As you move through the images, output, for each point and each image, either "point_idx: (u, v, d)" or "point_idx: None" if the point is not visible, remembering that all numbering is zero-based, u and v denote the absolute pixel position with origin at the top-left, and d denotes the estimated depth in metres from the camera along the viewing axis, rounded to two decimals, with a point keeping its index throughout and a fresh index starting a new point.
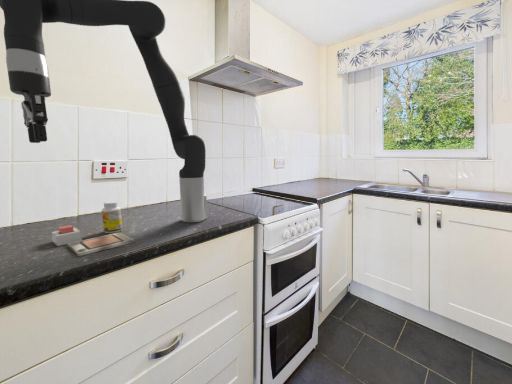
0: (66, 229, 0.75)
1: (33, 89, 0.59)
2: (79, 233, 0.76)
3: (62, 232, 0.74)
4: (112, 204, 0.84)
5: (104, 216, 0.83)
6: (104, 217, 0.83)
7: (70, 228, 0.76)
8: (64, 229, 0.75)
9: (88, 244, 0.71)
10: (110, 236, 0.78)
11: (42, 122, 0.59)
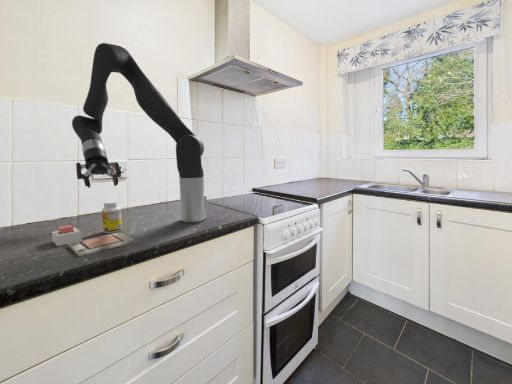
0: (66, 229, 0.75)
1: (85, 161, 0.95)
2: (79, 233, 0.76)
3: (62, 232, 0.74)
4: (112, 204, 0.84)
5: (104, 216, 0.83)
6: (104, 217, 0.83)
7: (70, 228, 0.76)
8: (64, 229, 0.75)
9: (88, 244, 0.71)
10: (110, 236, 0.78)
11: (80, 176, 0.90)
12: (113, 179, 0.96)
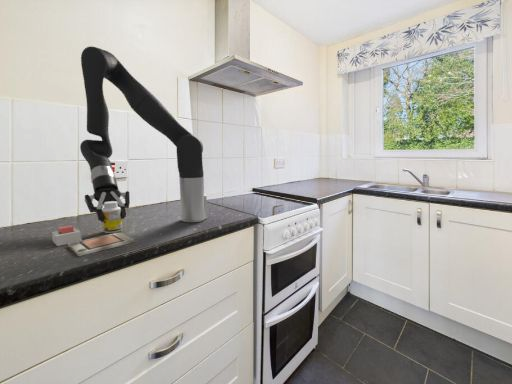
0: (66, 229, 0.75)
1: (94, 190, 0.88)
2: (79, 233, 0.76)
3: (62, 232, 0.74)
4: (112, 204, 0.84)
5: (104, 216, 0.83)
6: (104, 217, 0.83)
7: (70, 228, 0.76)
8: (64, 229, 0.75)
9: (88, 244, 0.71)
10: (110, 236, 0.78)
11: (93, 210, 0.83)
12: None
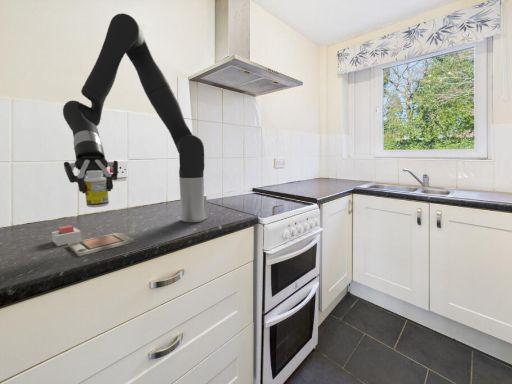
0: (66, 229, 0.75)
1: None
2: (79, 233, 0.76)
3: (62, 232, 0.74)
4: (96, 173, 0.71)
5: (86, 186, 0.70)
6: (86, 188, 0.70)
7: (70, 228, 0.76)
8: (64, 229, 0.75)
9: (88, 244, 0.71)
10: (110, 236, 0.78)
11: (73, 179, 0.70)
12: None
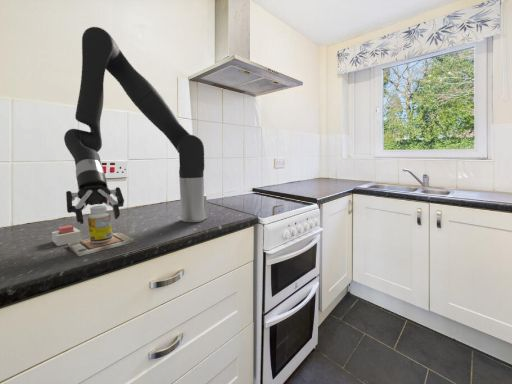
0: (66, 229, 0.75)
1: (78, 188, 0.75)
2: (79, 233, 0.76)
3: (62, 232, 0.74)
4: (100, 209, 0.71)
5: (90, 223, 0.71)
6: (90, 224, 0.71)
7: (70, 228, 0.76)
8: (64, 229, 0.75)
9: (88, 244, 0.71)
10: None
11: (71, 209, 0.70)
12: (113, 210, 0.75)
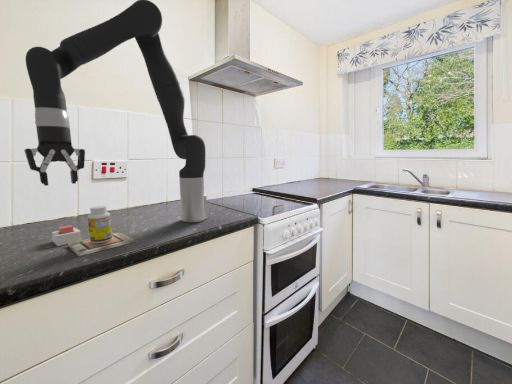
0: (66, 229, 0.75)
1: (38, 140, 0.70)
2: (79, 233, 0.76)
3: (62, 232, 0.74)
4: (100, 209, 0.71)
5: (90, 223, 0.71)
6: (90, 224, 0.71)
7: (70, 228, 0.76)
8: (64, 229, 0.75)
9: (88, 244, 0.71)
10: None
11: (35, 170, 0.70)
12: (71, 175, 0.76)
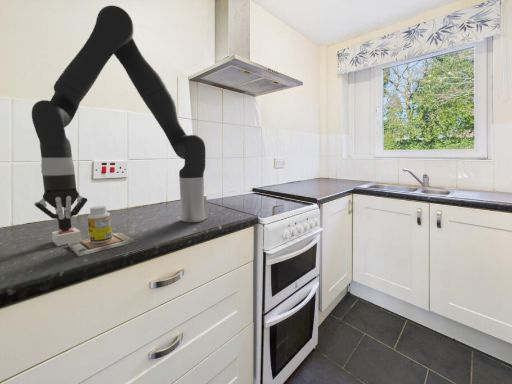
0: None
1: (44, 188, 0.72)
2: (79, 233, 0.76)
3: None
4: (99, 209, 0.71)
5: (90, 223, 0.71)
6: (90, 225, 0.71)
7: None
8: (64, 233, 0.75)
9: (88, 244, 0.71)
10: None
11: (54, 218, 0.74)
12: None
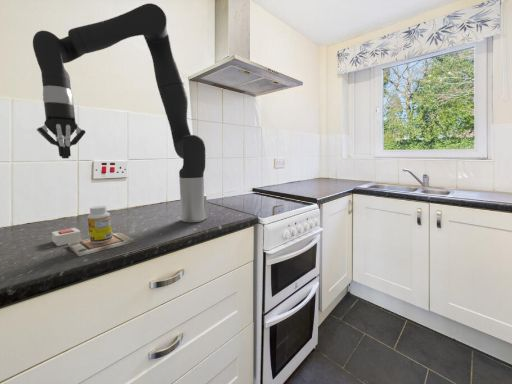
0: None
1: (45, 115, 0.78)
2: (79, 233, 0.76)
3: None
4: (99, 209, 0.71)
5: (90, 223, 0.71)
6: (90, 225, 0.71)
7: None
8: (64, 233, 0.75)
9: (88, 244, 0.71)
10: None
11: (55, 144, 0.80)
12: None
